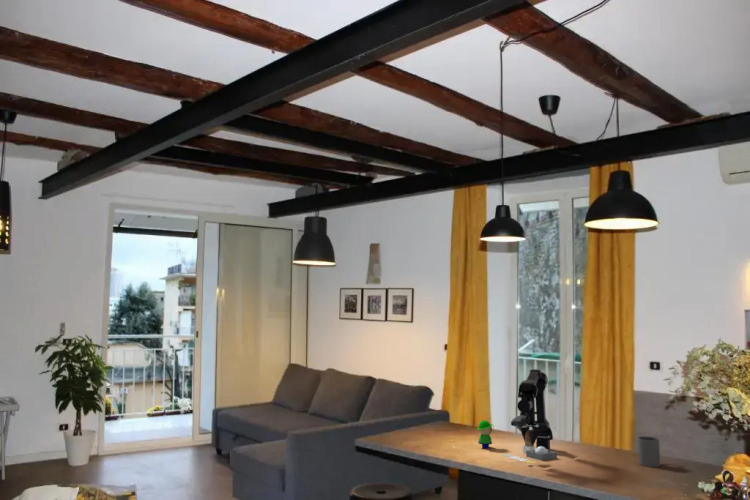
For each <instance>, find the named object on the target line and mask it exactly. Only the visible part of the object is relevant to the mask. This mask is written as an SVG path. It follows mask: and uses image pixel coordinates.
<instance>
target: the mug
mask: <svg viewBox="0 0 750 500" xmlns="http://www.w3.org/2000/svg"><path fill="white" fill-rule="evenodd" d="M659 440H660V439H659V438H657V437H653V436H638V437H637V452H638V455H637V456H638V465H640V466H643V467H647V468H658V467H660V465H661V456H660V455H661V454H660V441H659Z"/></svg>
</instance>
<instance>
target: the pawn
mask: <svg viewBox="0 0 750 500" xmlns="http://www.w3.org/2000/svg"><path fill="white" fill-rule="evenodd" d="M529 430H530V429H529ZM529 430H528V431H526V434H525V441H524V445H525V446H528V447H533V446H534V447H535V443H534V444H533V445H532V443H531V433H530V432H529Z"/></svg>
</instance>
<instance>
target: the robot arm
mask: <svg viewBox="0 0 750 500" xmlns="http://www.w3.org/2000/svg"><path fill="white" fill-rule="evenodd" d="M548 381H549V379H548V376H547V374H546V373H544V372H542V370H540V369H534V368H533V369H532V368H531V369H530V370H529V374H528V377H527V378H526V379H525V380H522V381H521V382H520V384H519V386H518V395H517V398H520V399H519V401H518V402H517V405H516V407H517V409H518V411H519V414H520V415H518V416H516V417H514V418H512V419H511V420H510V426H513V427H516V429H517V430H519V431H520V432H521V436H522V438H523V441H524V442H525V434H526V431H528V430H529V432H530V433H531V443H532V445H533V444H534V445H536V447H535V449H537V448H538V447H539V446H542V447H545V448H546V449H547V450H549V451H550V449H551V445H550V444H551V440H552V441H553V439H554V436H553V431H552V428H551V425H550V423H549V421H548V419H547V417H546V404H545V403H546V402H545V399H546V398H545V391H546V390H545V389H546V388H547V385H548ZM530 428H531V429H530ZM535 443H536V444H535Z"/></svg>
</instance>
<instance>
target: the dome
mask: <svg viewBox="0 0 750 500" xmlns="http://www.w3.org/2000/svg"><path fill="white" fill-rule="evenodd" d="M534 450H535V452H537V453H541V454H543V453H548V450H547V449H546V448H545V447H542V446H539V447H538V448H537V449H536V448H534Z"/></svg>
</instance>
